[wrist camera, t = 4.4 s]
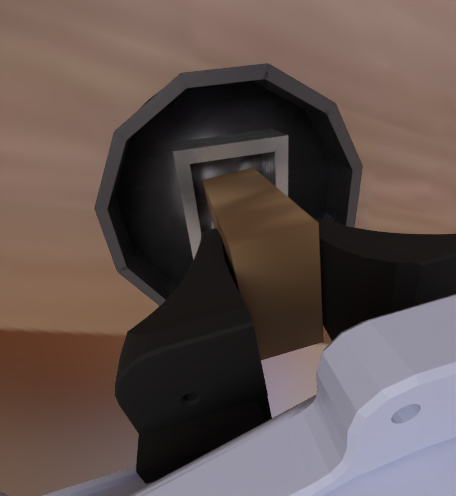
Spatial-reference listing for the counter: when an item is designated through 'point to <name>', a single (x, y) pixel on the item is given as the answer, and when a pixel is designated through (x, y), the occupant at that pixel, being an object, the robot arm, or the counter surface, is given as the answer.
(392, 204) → the counter surface
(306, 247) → the wooden block
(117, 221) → the bowl
